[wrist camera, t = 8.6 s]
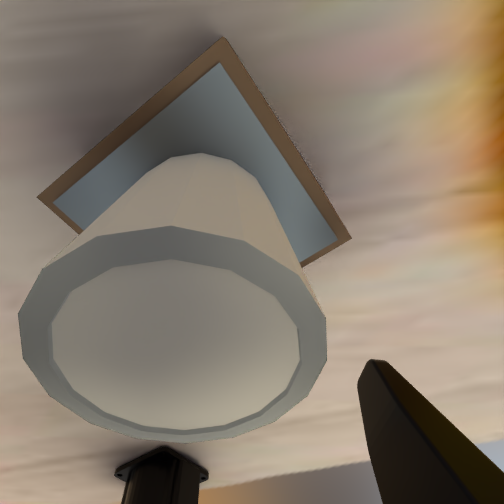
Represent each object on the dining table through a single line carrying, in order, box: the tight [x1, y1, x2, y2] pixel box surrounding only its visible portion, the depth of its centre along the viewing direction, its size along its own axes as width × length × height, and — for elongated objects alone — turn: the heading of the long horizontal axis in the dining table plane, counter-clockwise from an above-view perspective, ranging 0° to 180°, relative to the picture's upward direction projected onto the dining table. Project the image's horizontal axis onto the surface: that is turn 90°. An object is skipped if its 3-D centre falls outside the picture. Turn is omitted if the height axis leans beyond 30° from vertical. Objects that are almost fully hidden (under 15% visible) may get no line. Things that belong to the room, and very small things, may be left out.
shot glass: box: [18, 153, 327, 444], centre depth 11 cm, size 7×7×7 cm
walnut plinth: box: [37, 37, 352, 267], centre depth 16 cm, size 9×9×5 cm
